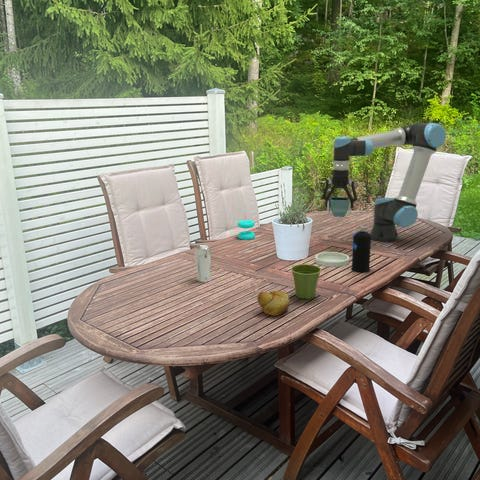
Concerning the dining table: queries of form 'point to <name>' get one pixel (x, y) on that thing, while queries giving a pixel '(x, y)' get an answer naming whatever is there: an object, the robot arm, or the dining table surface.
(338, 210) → the flower pot
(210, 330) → the dining table surface
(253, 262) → the dining table surface
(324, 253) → the saucer
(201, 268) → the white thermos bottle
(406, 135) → the robot arm
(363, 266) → the aerosol can
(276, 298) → the brown lumpy oval
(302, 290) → the plant pot
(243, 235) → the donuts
